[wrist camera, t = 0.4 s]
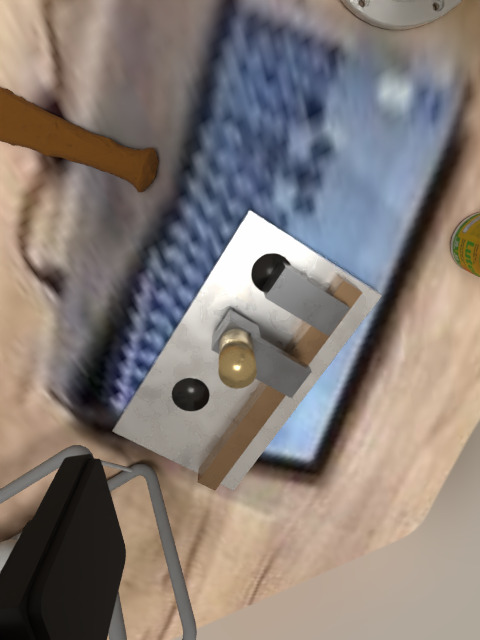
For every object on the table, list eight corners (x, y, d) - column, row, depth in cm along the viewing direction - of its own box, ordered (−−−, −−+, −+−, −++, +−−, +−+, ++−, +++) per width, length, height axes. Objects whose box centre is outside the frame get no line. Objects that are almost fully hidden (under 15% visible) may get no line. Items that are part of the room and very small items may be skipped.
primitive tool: (-83, 120, 37) (-113, 116, 33) (-77, 45, 35) (-108, 34, 32) (152, 194, 39) (146, 198, 36) (169, 128, 38) (164, 125, 34)
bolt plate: (249, 208, 39) (251, 215, 35) (376, 290, 42) (393, 306, 38) (115, 422, 46) (104, 450, 42) (233, 480, 49) (234, 511, 45)
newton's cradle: (-55, 580, 53) (-58, 782, 43) (-156, 583, 45) (-191, 836, 34) (154, 456, 48) (206, 652, 38) (84, 433, 40) (126, 678, 29)
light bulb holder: (229, 307, 41) (231, 345, 33) (303, 350, 42) (321, 396, 34) (212, 334, 41) (209, 377, 34) (285, 375, 43) (298, 426, 35)
